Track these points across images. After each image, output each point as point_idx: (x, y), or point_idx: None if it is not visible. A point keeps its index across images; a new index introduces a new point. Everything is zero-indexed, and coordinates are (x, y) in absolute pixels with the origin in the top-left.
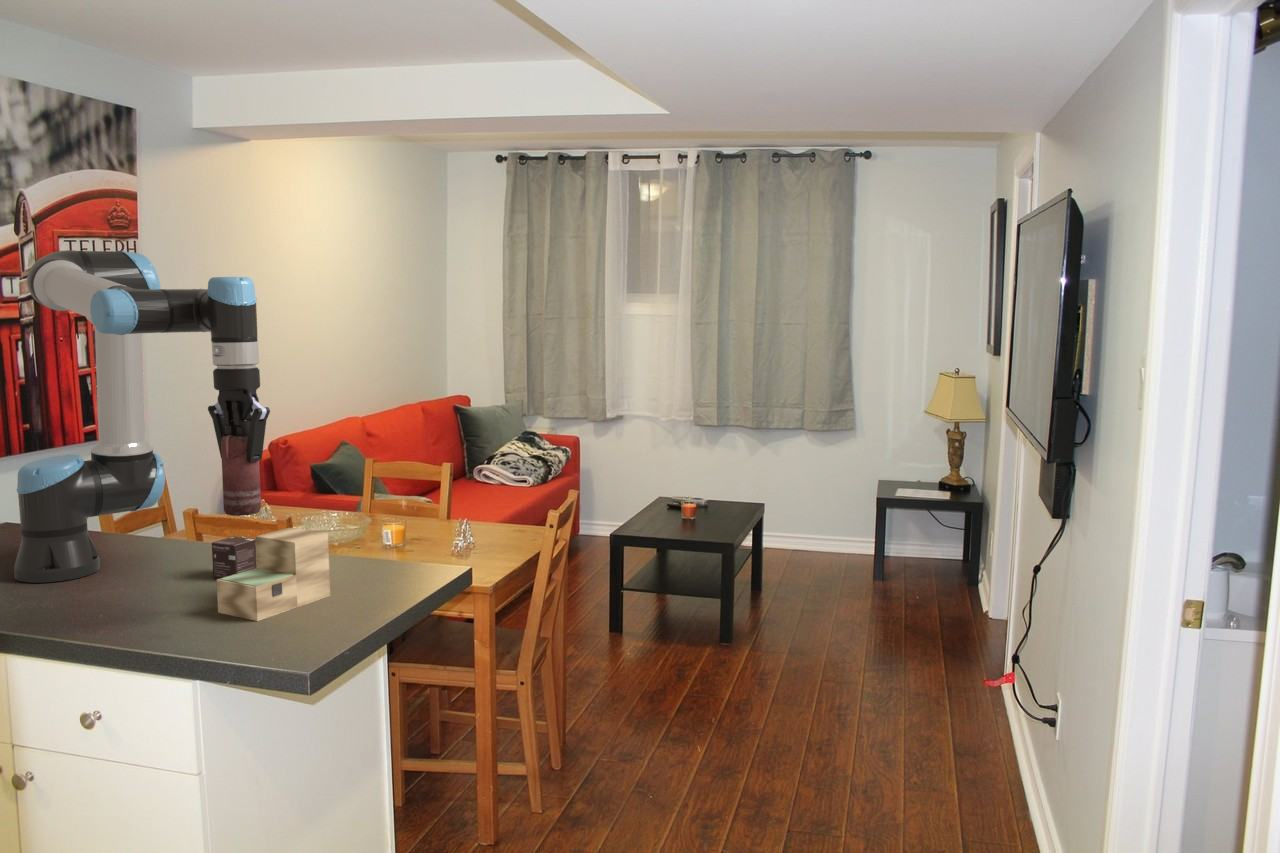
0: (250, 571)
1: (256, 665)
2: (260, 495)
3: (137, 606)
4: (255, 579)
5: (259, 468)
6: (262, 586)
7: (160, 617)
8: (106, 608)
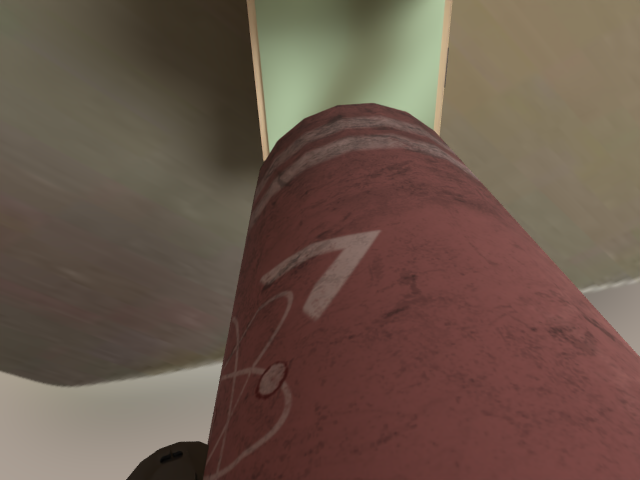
0: (277, 40)
1: (599, 286)
2: (460, 160)
3: (57, 200)
4: (375, 101)
5: (567, 277)
6: (439, 127)
7: (190, 220)
8: (22, 244)
